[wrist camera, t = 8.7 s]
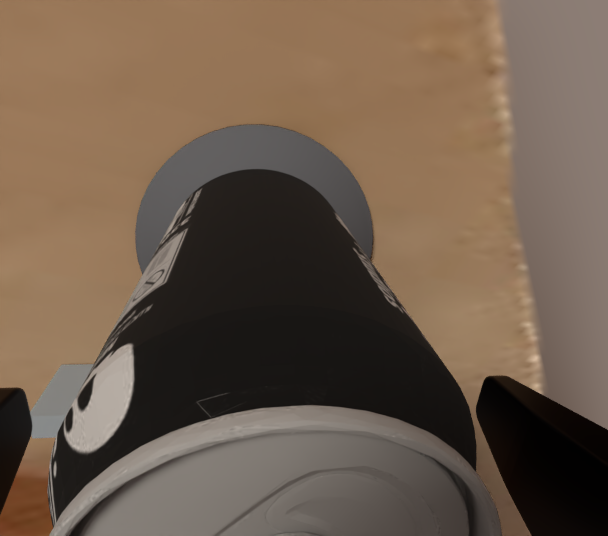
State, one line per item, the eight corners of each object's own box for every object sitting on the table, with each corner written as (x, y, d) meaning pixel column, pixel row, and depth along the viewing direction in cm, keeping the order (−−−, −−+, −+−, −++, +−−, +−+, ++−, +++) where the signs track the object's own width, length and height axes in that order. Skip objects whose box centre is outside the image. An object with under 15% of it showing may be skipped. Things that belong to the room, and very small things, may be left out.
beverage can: (364, 285, 17) (568, 628, 6) (221, 348, 18) (181, 777, 7) (302, 133, 15) (471, 277, 4) (133, 211, 15) (-174, 557, 4)
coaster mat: (355, 341, 19) (358, 346, 18) (147, 343, 18) (145, 349, 17) (385, 132, 15) (388, 133, 15) (127, 116, 14) (123, 116, 14)
